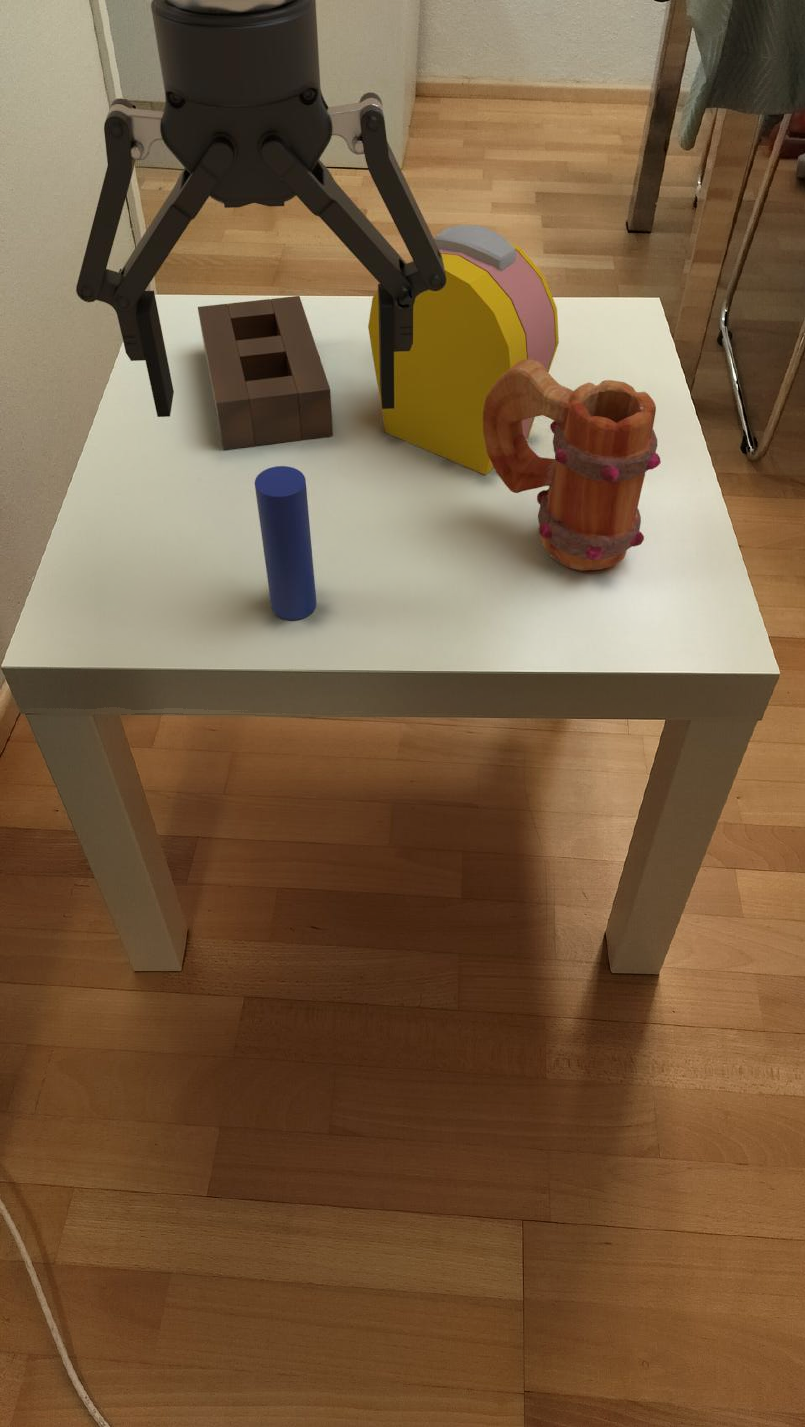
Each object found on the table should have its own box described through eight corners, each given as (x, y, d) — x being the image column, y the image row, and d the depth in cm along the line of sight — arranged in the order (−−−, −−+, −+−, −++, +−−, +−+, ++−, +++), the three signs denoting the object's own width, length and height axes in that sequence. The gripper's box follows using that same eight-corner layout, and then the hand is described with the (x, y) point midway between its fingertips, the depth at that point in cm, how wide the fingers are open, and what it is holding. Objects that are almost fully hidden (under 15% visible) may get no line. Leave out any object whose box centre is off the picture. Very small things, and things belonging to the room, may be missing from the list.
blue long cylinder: (274, 623, 78) (258, 499, 69) (268, 593, 80) (251, 469, 71) (320, 616, 79) (309, 492, 70) (312, 586, 81) (301, 462, 72)
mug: (655, 543, 85) (694, 383, 73) (615, 598, 80) (650, 438, 69) (503, 486, 90) (518, 328, 78) (457, 535, 85) (466, 376, 74)
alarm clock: (548, 439, 94) (574, 243, 80) (502, 482, 90) (520, 283, 76) (420, 387, 100) (423, 197, 86) (370, 425, 96) (365, 231, 82)
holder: (223, 450, 93) (215, 403, 89) (204, 352, 104) (197, 306, 101) (333, 436, 95) (330, 388, 91) (303, 340, 106) (299, 295, 102)
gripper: (494, -41, 48) (471, 361, 64) (-29, -32, 47) (81, 374, 63) (516, 5, 43) (485, 428, 60) (-68, 17, 42) (62, 443, 59)
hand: (277, 401), depth 62 cm, fingers open, 13 cm apart
